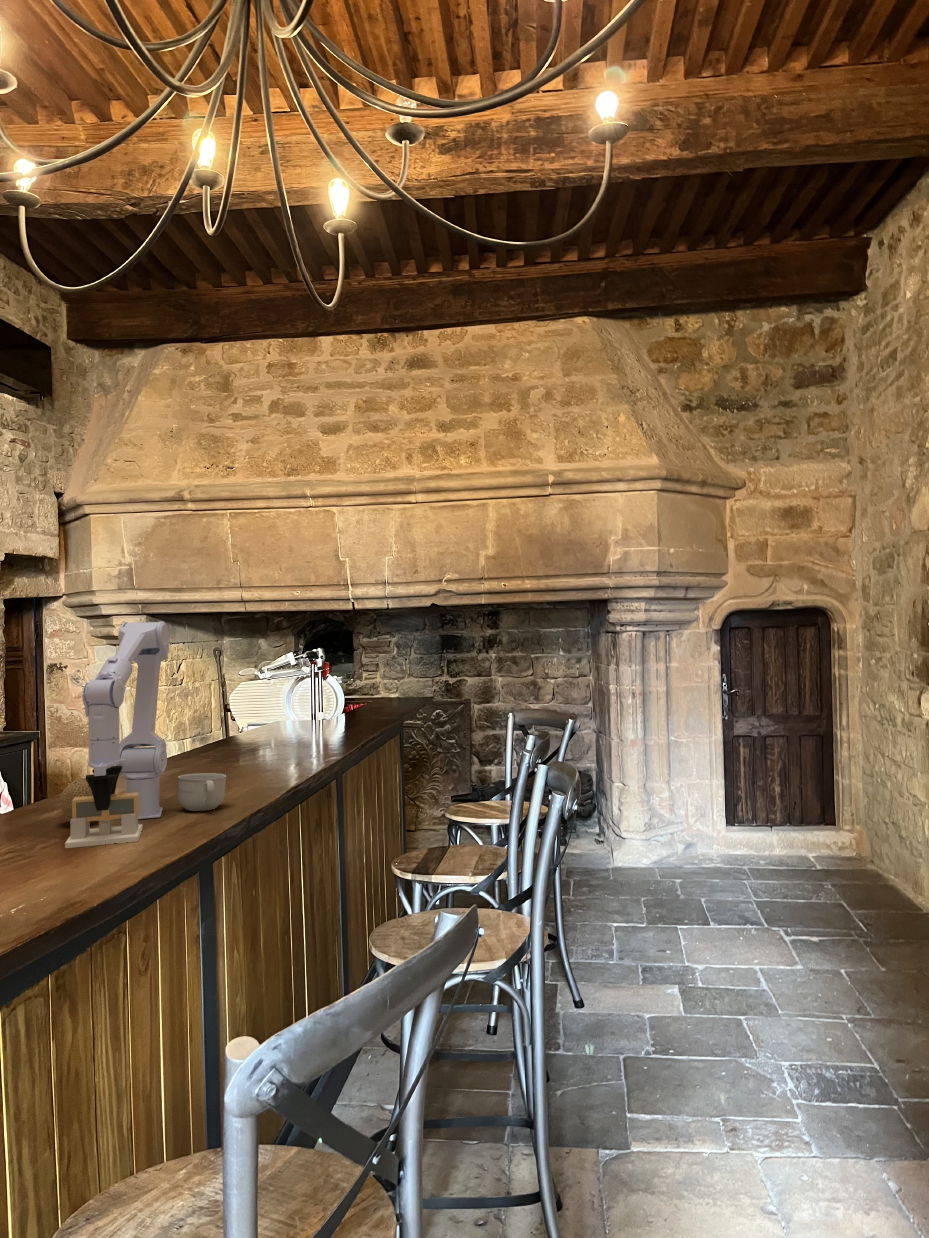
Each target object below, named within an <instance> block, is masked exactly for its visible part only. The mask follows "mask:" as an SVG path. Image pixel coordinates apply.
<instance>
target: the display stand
mask: <svg viewBox="0 0 929 1238" xmlns="http://www.w3.org/2000/svg"><path fill="white" fill-rule="evenodd" d="M90 822H91V821H88V822H85V818H77V819H71V818H70V822H69V824H70V836H69V837H68V838H67V839H66V841H65V843H64V848H65V849H72V848H73V849H74V848H83V847H94V846H106V845H115V844H114V843H117V844H126V842H128V843H134V842H135V843H137V841H138V842H139V839H140V836H141V834H142V832H141V831H143V824H139V819H138V817H136V814H126V815H121V823H120V824H121V825H119V826H112V820H100V821H98V827H97V828H96V827H95V828H90V824H91V823H90ZM105 844H106V845H105Z"/></svg>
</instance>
